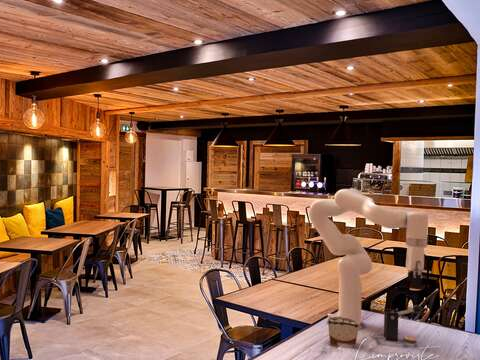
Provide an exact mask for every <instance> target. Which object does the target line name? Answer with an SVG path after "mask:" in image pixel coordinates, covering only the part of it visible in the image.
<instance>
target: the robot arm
mask: <svg viewBox="0 0 480 360" xmlns="http://www.w3.org/2000/svg"><path fill="white" fill-rule="evenodd" d="M348 212H353V213H355V214H358V215H361V216H363V217H364V218H365V219H366V220H368V221H370V222H371V223H373V224H376V225H379V226H381V227H384V228H386V229H402V228H405V229H406V230H405V246H406V247H407V248H406V258H405V268H406V269H407V282H408V283H412V288H415V289H422V288H423V272H424V269H425V248H428V233H429V214H428V213H427V212H424V211H412V210H411V211H410V210H406V209H389V208H386V207H383V206H380V205H377V204H375V201H374V198H373V197H369V196H367V195H364V194H363V193H362V192H361V190H359V189H356V188H342V189H339V190H338V191H336V193H335V194H334V197H333V198H320V199H317V200H316V199H315V200H314V201H313V202H312V203H311V205H310V206H309V210H308V217H309V220H310V222H311V224H312V226H313V227H314V229H315V230H316V231H317V233H318V234H319V236H320V238H321V239H322V241H323V243H324V244H325V246H326V248H327V249H328V251H329V252H330V253H331V254H332V255H334V256H341V258H340V259H338V262H337V265H336V266H337V267H336V268H337V273H338V274H337V275H338V311H337V312H336V313H327V318H328V319H329V318H332V317H344V318H349V319H353V320H355V321H357V322H358V323H359V325H361V324H362V295H363V294H362V293H363V291H362V290H363V287H362V281H361V277H360V276H362V275H366V274H369V273H370V272H371V271H372V269H373V262H372V259H371V257H370V255H369V254H368V252H367V251H366V250H365V248H364V247H363V245H362V243H361V242H360V240H358V239H357V237H355V236H354V235H353V234H350V233H342V232H341V231H340V230H339V228H338V226H337V225H336V224H335V223H334V221H332V220H331V219H330V218H329V217H339V216H342V215H344V214H345V213H348Z"/></svg>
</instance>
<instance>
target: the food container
mask: <svg viewBox="0 0 480 360" xmlns="http://www.w3.org/2000/svg"><path fill="white" fill-rule="evenodd" d="M326 325H327V326H328V337H329V338H328V339H329V346H335V347H339V344H338V343H340V344H346V345H347V344H349V345H357V341H358V335H359V333H358V332H359V329H361V326H360V325H361V324H360V325H359V323H358V322H357V321H355V320H353V319H349V318H344V317H332V318H328V319H327V321H326Z"/></svg>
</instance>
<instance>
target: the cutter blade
mask: <svg viewBox="0 0 480 360" xmlns="http://www.w3.org/2000/svg"><path fill="white" fill-rule="evenodd" d="M422 310H423V308H422V306H421V305H419V304H415V305H413V306H412V307H411V308H409V309H405V310H400V311H397V312H396V313H399V314H398V316H401V315H406V314H409V313H415V314H420V313H421V312H422ZM391 312H394V311H391Z"/></svg>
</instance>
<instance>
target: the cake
mask: <svg viewBox="0 0 480 360" xmlns="http://www.w3.org/2000/svg"><path fill="white" fill-rule="evenodd" d="M402 339H403V340H402V341H404V342H405V343H408V344H416V343H417V337H416V336H413V335H407V334H406V335H403V338H402Z"/></svg>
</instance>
